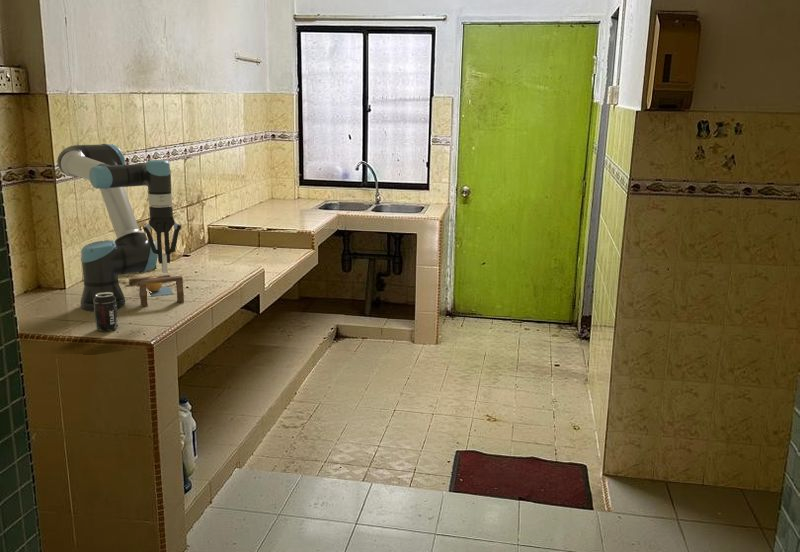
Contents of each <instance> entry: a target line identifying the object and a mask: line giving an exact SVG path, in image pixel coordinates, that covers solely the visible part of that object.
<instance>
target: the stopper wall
mask: <svg viewBox="0 0 800 552" xmlns="http://www.w3.org/2000/svg"><path fill="white" fill-rule="evenodd" d="M150 277H157V278H160V277H171V275H170V274H164V275H163V274H161V275H150V276H141V277H140V276H139V277H130V278H128V282H129V283H128V284H129V286H138V285H137V284H139V279H148V278H150Z"/></svg>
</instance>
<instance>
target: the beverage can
mask: <svg viewBox="0 0 800 552" xmlns="http://www.w3.org/2000/svg"><path fill="white" fill-rule="evenodd" d="M93 312H94V320H95V328H96V330H97V331H99V332H103V331H107V332H112V331H115V330H116V329H117V328H118V327H119V317H118V308H117V304H116V297H115V296H114V295H113V293H112V292H102V293H97V294H95V298H94V311H93ZM114 329H115V330H114ZM111 330H112V331H111Z"/></svg>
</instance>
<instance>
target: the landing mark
mask: <svg viewBox="0 0 800 552" xmlns="http://www.w3.org/2000/svg"><path fill="white" fill-rule="evenodd" d="M137 291H139V292H138V293H139V294H140V288H139V289H137ZM149 293H150V292H149ZM168 294H171V295H174V294H175V293H174V292H173V290H172V289H171V287H170V286H164V287H163V286H161V288H160V289H159V290H158V291H156V292H152V293H150V295H151V297H158V296H157V295H161V296H169V295H168Z"/></svg>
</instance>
